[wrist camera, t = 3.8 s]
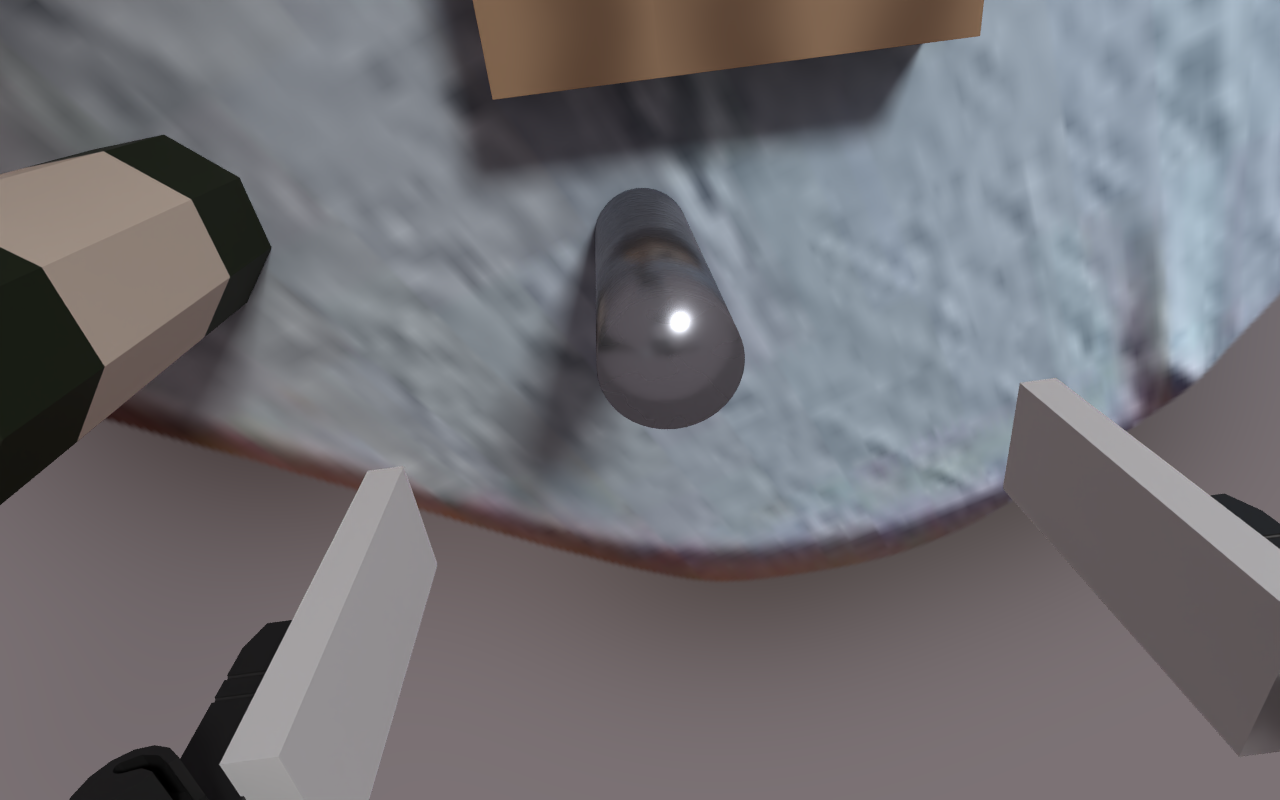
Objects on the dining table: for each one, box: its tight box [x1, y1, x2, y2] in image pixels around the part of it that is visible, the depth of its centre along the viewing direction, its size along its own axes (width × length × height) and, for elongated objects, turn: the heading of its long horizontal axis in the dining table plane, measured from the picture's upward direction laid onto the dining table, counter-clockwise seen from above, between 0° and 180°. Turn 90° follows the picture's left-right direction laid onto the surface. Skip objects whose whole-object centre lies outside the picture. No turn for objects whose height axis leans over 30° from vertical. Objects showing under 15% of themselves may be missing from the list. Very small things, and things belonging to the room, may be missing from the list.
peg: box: [595, 188, 745, 429], centre depth 27 cm, size 4×4×14 cm
